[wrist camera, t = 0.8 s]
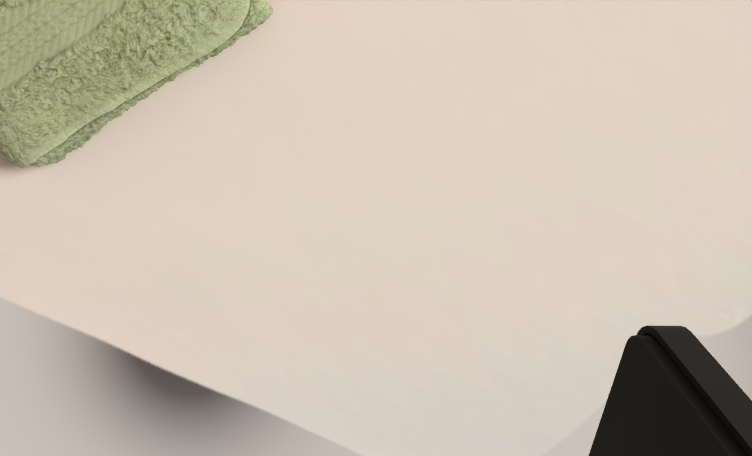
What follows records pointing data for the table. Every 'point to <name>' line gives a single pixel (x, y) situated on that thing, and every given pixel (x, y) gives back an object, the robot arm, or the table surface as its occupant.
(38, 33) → the washcloth
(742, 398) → the robot arm
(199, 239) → the table surface
